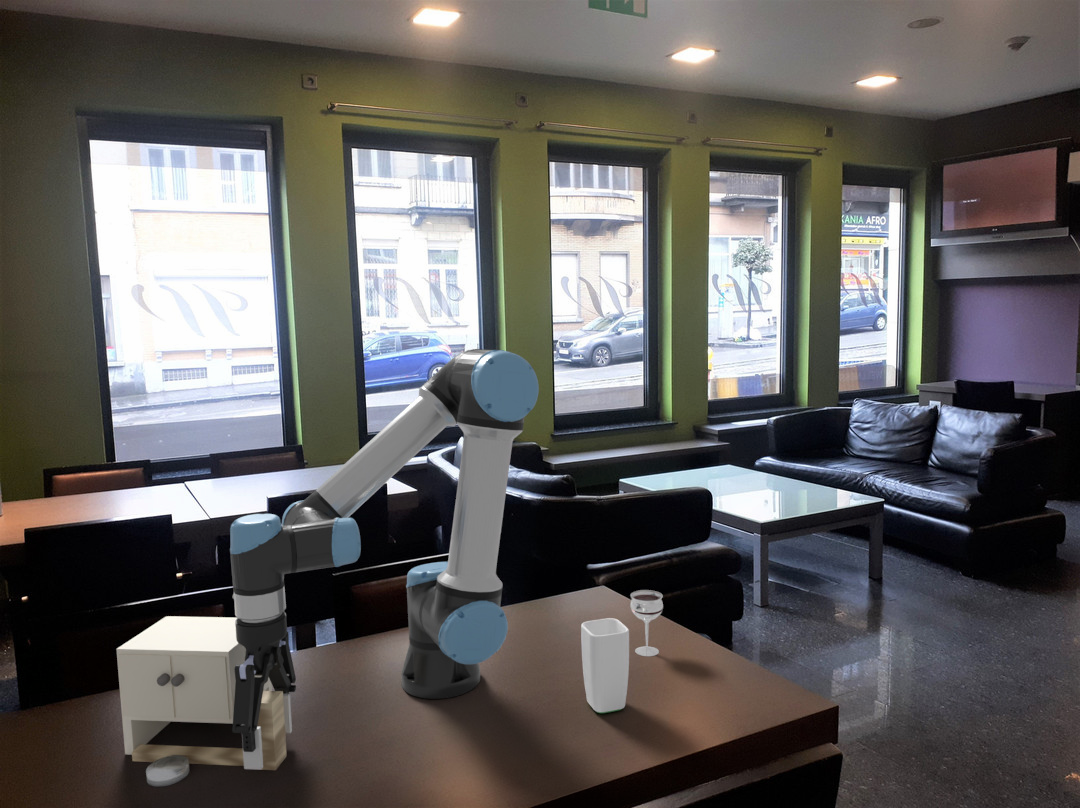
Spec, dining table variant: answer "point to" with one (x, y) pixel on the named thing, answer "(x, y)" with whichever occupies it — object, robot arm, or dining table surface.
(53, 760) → the dining table surface
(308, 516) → the robot arm
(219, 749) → the l-shaped wooden piece
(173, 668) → the cabinet
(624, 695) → the cup
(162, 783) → the disc
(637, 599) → the wineglass
